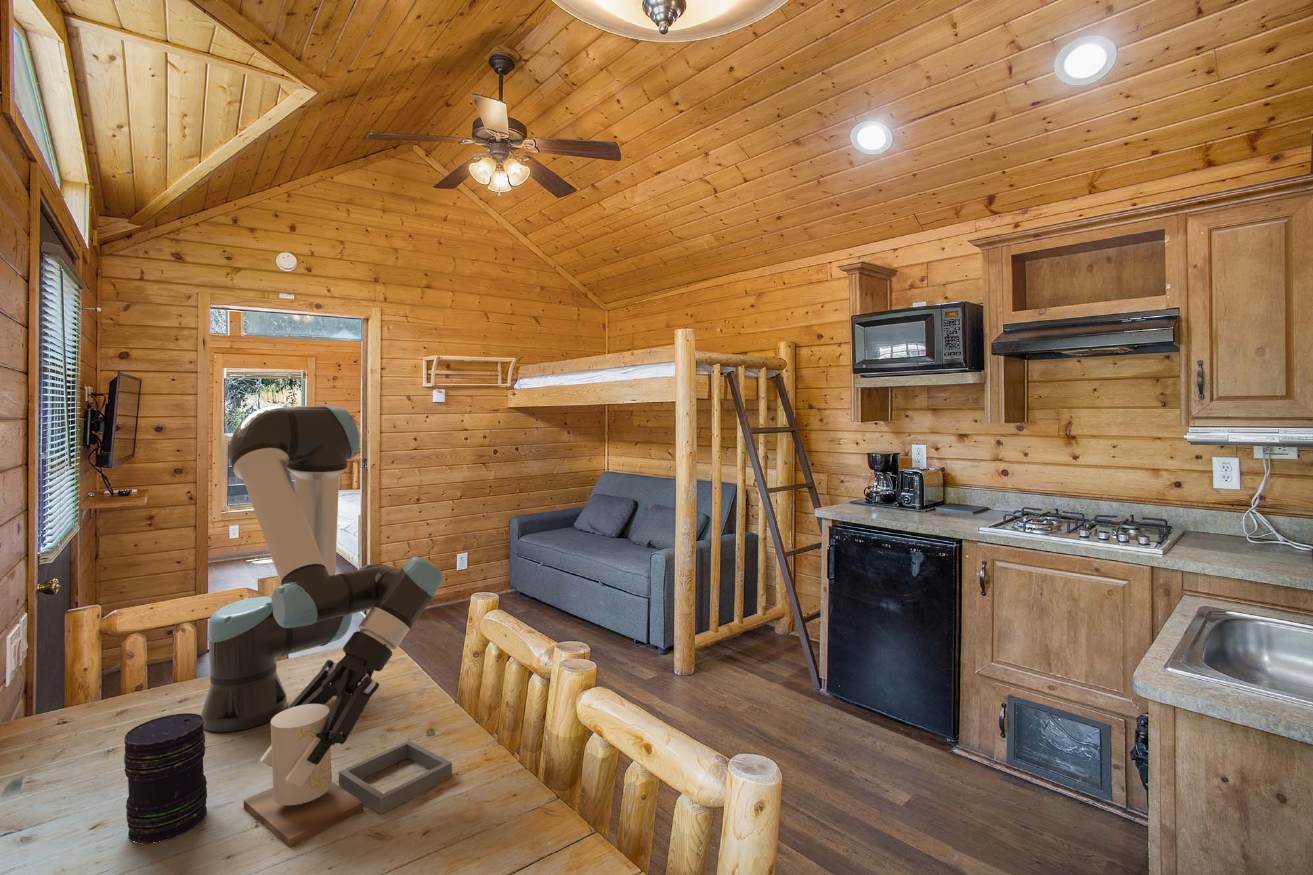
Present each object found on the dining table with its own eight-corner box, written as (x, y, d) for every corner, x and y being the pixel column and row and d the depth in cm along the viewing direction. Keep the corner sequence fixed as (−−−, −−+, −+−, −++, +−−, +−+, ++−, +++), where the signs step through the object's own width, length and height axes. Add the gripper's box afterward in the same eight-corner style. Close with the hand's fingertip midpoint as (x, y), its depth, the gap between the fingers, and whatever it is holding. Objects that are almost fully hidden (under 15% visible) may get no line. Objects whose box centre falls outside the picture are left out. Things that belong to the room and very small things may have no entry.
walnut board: (243, 807, 103) (243, 800, 103) (314, 776, 112) (314, 769, 112) (289, 847, 94) (289, 839, 94) (363, 809, 102) (362, 802, 102)
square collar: (339, 786, 109) (338, 771, 109) (409, 753, 119) (408, 740, 119) (381, 814, 101) (380, 799, 101) (452, 776, 111) (451, 762, 111)
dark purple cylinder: (143, 853, 93) (139, 751, 92) (115, 830, 98) (111, 733, 97) (220, 816, 101) (216, 722, 100) (190, 796, 106) (187, 707, 106)
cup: (306, 807, 98) (304, 730, 97) (260, 802, 99) (257, 725, 99) (343, 778, 106) (340, 705, 105) (299, 772, 107) (297, 701, 107)
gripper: (424, 664, 108) (331, 806, 96) (359, 639, 121) (268, 761, 108) (394, 642, 104) (292, 787, 91) (329, 618, 116) (232, 743, 104)
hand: (279, 773), depth 100 cm, fingers closed on cup, 8 cm apart
